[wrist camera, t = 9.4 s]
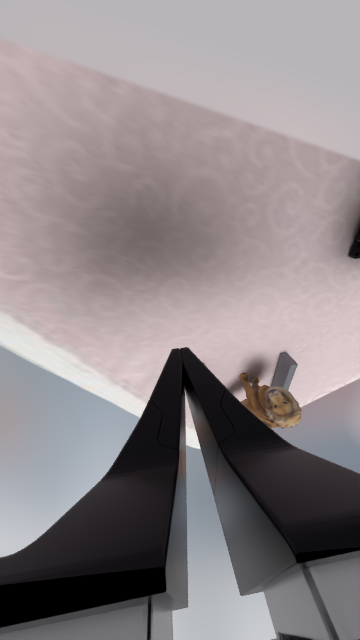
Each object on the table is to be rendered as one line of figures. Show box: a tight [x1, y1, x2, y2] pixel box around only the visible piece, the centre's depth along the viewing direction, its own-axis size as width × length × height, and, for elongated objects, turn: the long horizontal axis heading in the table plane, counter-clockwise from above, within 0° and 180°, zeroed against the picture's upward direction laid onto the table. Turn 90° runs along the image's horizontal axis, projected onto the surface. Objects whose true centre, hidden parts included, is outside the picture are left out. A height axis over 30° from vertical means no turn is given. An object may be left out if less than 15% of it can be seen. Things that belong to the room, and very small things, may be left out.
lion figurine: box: [240, 373, 301, 428], centre depth 27 cm, size 15×5×9 cm, turn 144°
